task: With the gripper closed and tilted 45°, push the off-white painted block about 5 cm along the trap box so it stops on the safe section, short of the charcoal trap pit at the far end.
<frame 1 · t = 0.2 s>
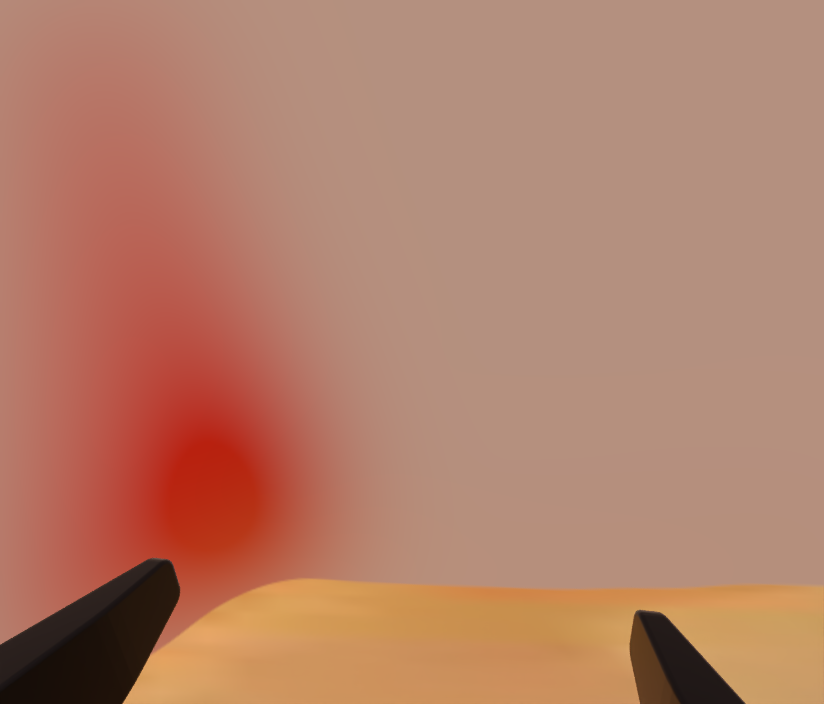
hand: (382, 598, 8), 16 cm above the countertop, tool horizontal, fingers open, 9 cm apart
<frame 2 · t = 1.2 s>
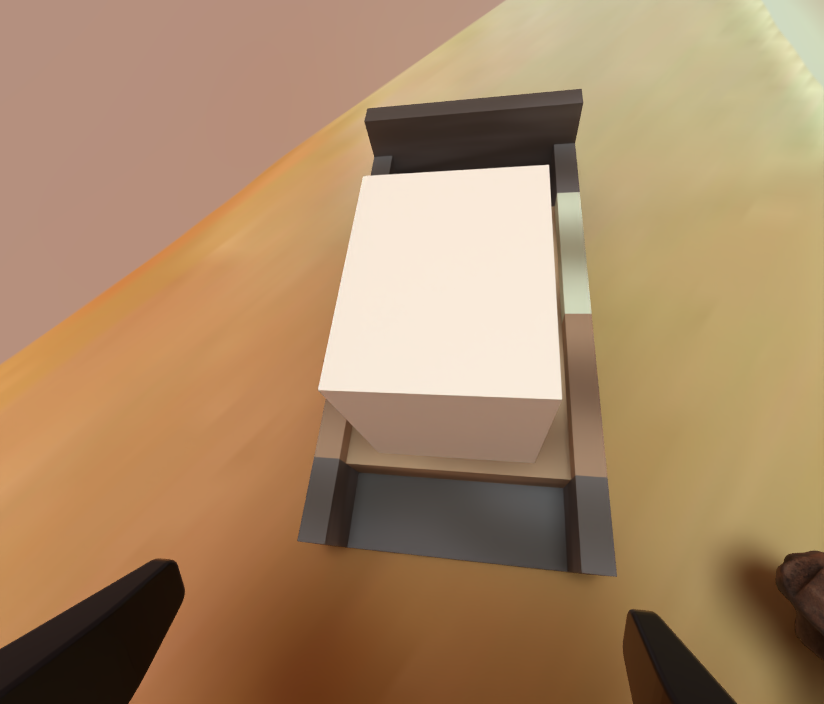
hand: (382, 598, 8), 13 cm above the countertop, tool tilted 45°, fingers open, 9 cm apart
trap box: (464, 330, 25), on the countertop
block: (459, 367, 21), point 2 cm above the countertop, touching trap box
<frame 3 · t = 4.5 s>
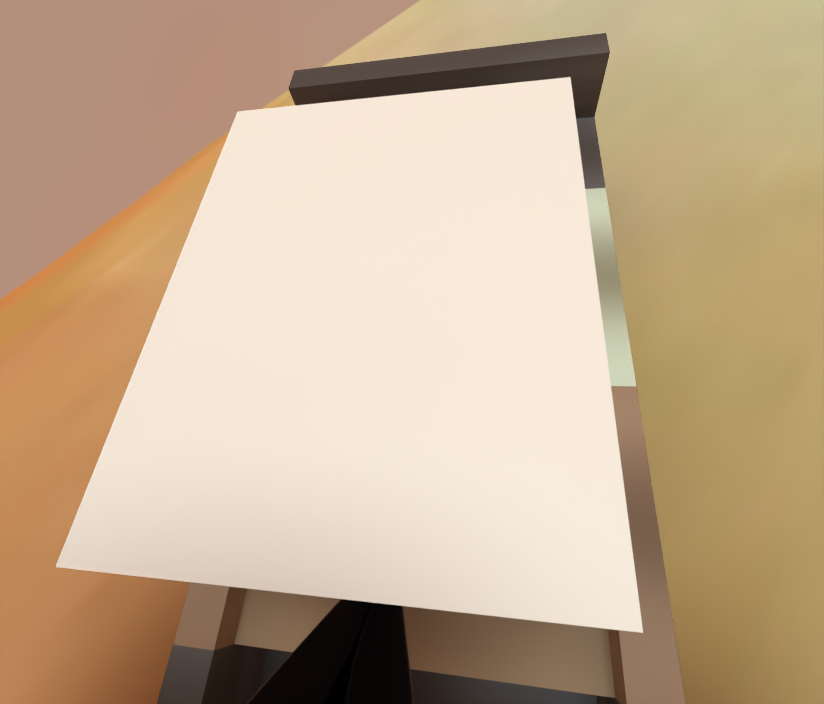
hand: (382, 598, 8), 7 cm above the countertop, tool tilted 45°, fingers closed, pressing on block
trap box: (438, 392, 17), on the countertop
block: (426, 421, 14), point 3 cm above the countertop, touching gripper
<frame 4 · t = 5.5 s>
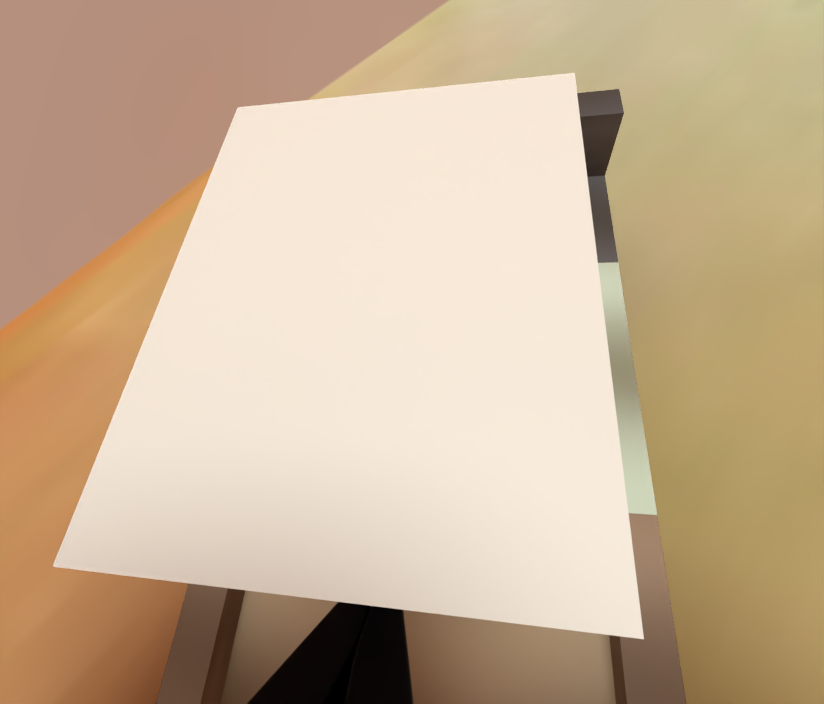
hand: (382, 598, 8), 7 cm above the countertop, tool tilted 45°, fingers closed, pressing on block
trap box: (432, 482, 15), on the countertop
block: (427, 420, 14), point 2 cm above the countertop, touching gripper, trap box
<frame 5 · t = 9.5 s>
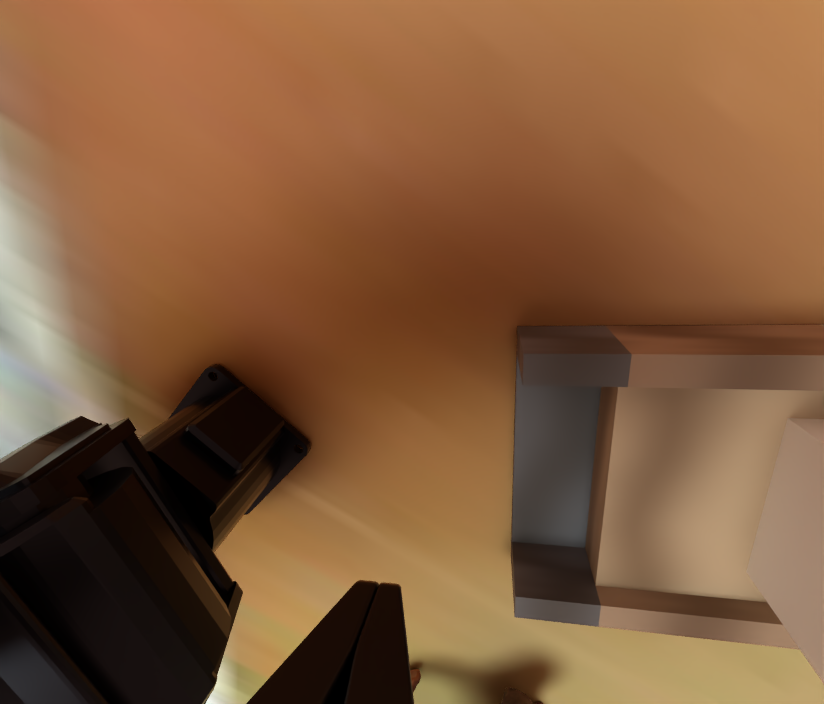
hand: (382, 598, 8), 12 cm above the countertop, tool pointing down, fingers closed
trap box: (808, 466, 18), on the countertop
pottery mug: (478, 696, 26), on the countertop
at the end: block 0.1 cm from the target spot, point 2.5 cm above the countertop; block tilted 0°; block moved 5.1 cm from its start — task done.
